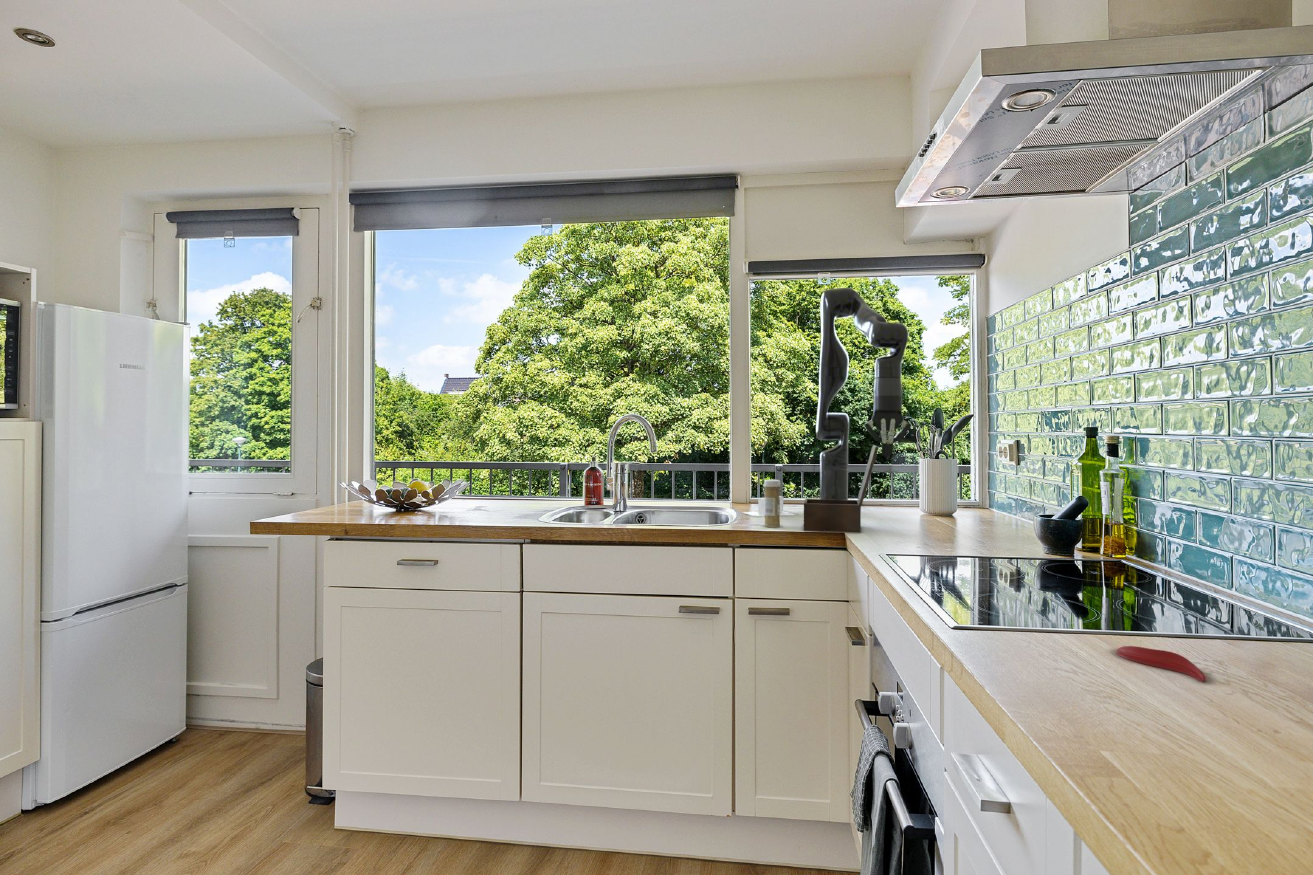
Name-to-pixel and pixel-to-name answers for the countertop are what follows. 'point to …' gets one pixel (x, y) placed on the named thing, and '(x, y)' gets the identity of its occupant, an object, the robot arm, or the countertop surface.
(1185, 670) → the cayenne pepper
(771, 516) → the sprinkles bottle
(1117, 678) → the countertop surface
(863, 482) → the chest lid
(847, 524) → the chest
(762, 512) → the napkin holder
